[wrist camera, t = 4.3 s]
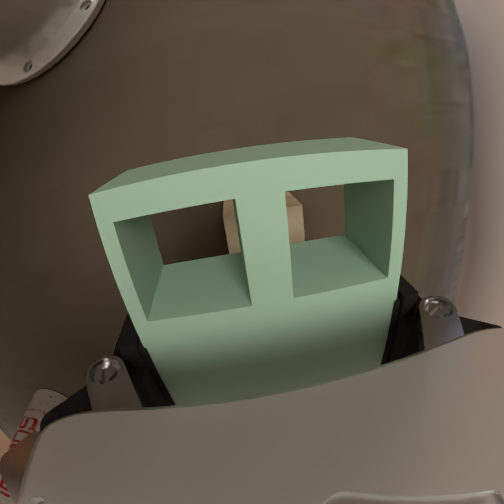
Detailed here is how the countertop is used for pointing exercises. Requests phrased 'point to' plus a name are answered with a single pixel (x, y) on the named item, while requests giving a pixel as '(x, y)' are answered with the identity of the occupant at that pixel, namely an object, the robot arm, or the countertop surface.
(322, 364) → the board
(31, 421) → the thermos bottle
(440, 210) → the countertop surface
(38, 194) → the countertop surface
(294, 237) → the block
